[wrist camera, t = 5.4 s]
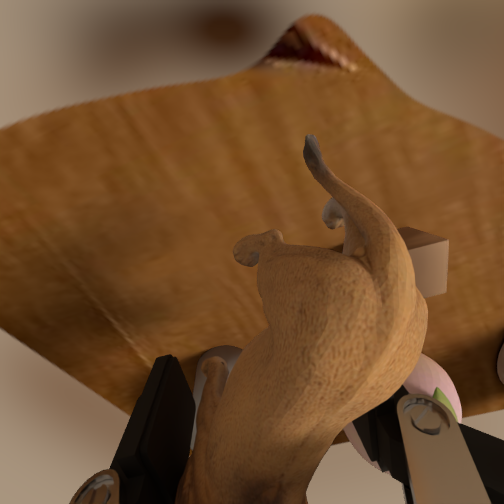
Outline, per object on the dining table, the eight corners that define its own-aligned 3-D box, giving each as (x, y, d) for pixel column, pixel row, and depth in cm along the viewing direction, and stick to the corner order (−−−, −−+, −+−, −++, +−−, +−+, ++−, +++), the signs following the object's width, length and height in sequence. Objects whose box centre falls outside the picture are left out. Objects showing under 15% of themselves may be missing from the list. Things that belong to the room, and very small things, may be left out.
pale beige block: (406, 226, 20) (448, 239, 16) (406, 270, 21) (446, 292, 18) (347, 241, 20) (375, 258, 16) (351, 284, 21) (379, 310, 17)
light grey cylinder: (244, 339, 22) (252, 399, 16) (257, 381, 23) (268, 449, 18) (189, 354, 22) (177, 420, 16) (205, 395, 23) (200, 468, 18)
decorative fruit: (309, 332, 22) (372, 454, 13) (396, 307, 22) (522, 409, 13) (325, 406, 25) (385, 547, 16) (401, 383, 25) (506, 509, 16)
